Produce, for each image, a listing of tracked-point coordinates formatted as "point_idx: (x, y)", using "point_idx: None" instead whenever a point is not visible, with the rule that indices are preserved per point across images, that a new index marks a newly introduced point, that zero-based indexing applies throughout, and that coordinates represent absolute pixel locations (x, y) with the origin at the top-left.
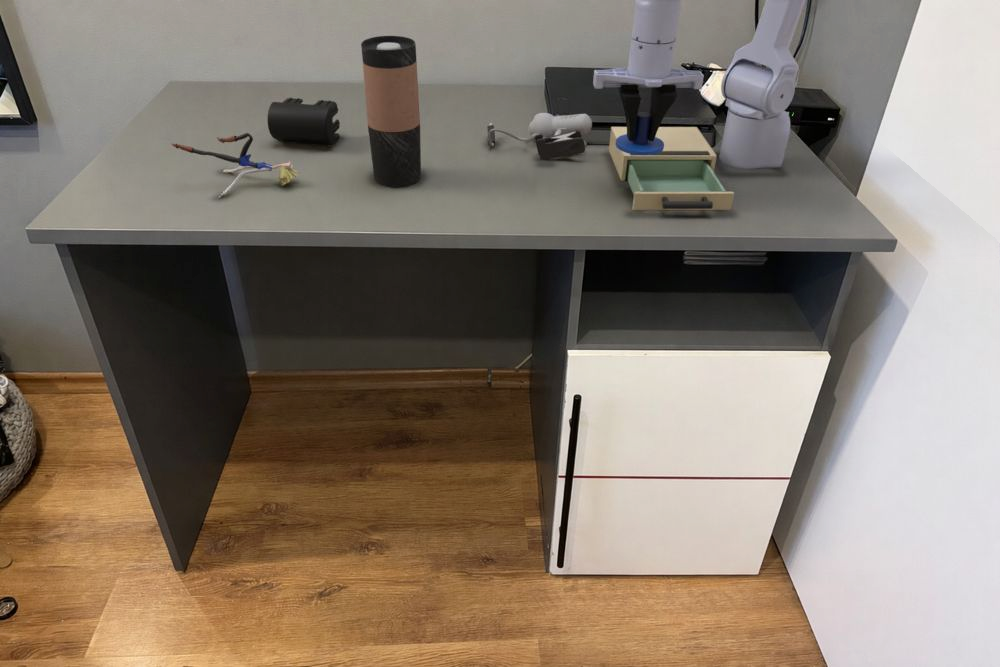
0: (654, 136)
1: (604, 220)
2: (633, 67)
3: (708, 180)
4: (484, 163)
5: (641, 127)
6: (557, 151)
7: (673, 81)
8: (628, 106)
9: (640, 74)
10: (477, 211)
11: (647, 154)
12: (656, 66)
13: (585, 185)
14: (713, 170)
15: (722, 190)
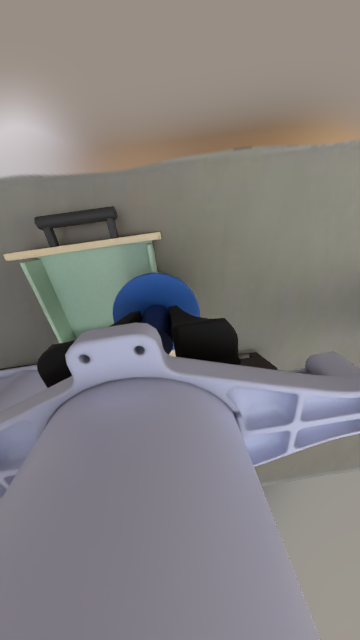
0: (129, 313)
1: (197, 211)
2: (240, 447)
3: (62, 320)
4: (314, 346)
5: (157, 318)
6: (247, 362)
7: (26, 402)
8: (203, 319)
9: (195, 399)
10: (355, 219)
11: (142, 274)
12: (86, 459)
13: (213, 311)
14: (56, 342)
15: (24, 264)
